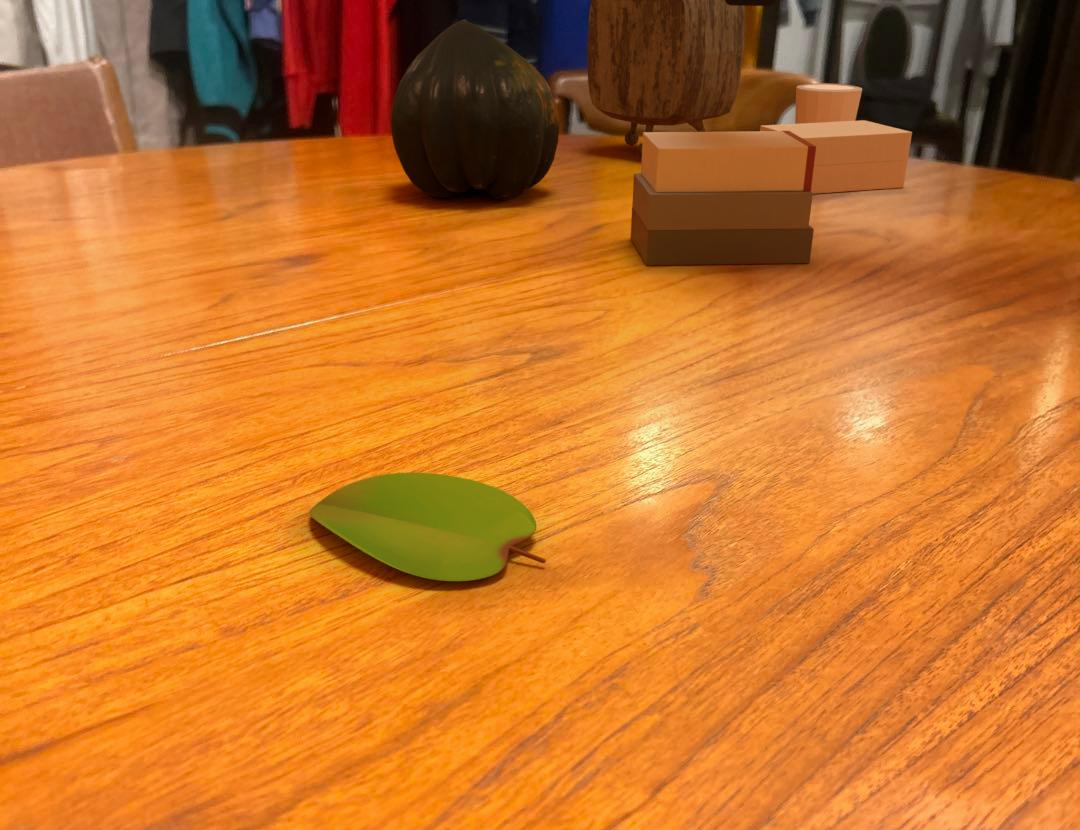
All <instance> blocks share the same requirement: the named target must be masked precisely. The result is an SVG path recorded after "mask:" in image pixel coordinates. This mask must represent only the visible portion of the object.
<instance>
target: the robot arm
mask: <svg viewBox="0 0 1080 830" xmlns="http://www.w3.org/2000/svg"><path fill="white" fill-rule="evenodd" d="M725 2H726V3H727V4H728V5H737V6H746V7H755V6H756V7H770V6H773V5H774V4H775V2H776V0H725Z"/></svg>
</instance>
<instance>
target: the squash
mask: <svg viewBox="0 0 1080 830" xmlns="http://www.w3.org/2000/svg"><path fill="white" fill-rule="evenodd" d="M390 128H391V137H392V142H393V147H394V150H395V153H396V155H397V158H398V160H399V162H400V165H401V167H402V169H403V172H404V173H405V175H406V176H407V178H408V179H409V181H410V182H411V183H412V184H413V186H414V187H416V188H417V189H418V190H419V191H421V192H423V193H424V194H427V195H428V196H431V197H435V198H450V197H454V196H456V195H457V194H460V193H465V192H467V191H468V190H470V189H471V187H472V188H473V189H475V190H486V192H487V194H489V196H492V197H493V198H495V199H498V200H501V201H508V200H511V199H514V198H517V197H519V196H520V195H522V194H523V193H524V192H525V191H527V190H529V189H531V188H533V187H535V186H537V184H539V183H540V182H541V181H542V180H543V179H544V178H545V177H546V175H548V173H549V171H550V169H551V167H552V165H553V163H554V160H555V156H556V152H557V148H558V145H559V136H560V135H559V134H560V115H559V111H558V106H557V103H556V100H555V97H554V95H553V91H552V90H551V88H550V86H549V84H548V82H547V80H546V78H545V77H544V76H543V75H542V74H541V72H540V71H539V70H538V69H536V67H535V66H533V65H532V64H531V62H529V61H528V60H527V59H525V57H523V56H521V54H519V53H518V52H517V51H515V50H514V49H513V48H511V47H510V46H509V45H507V44H506V43H504V42H503V41H501V40H500V39H499V38H497V37H495V36H494V35H493V34H491V33H490V32H488V31H486V30H485V29H483V28H482V27H481V26H478V25H476V24H474V23H473V22H469V21H468V20H466V19H462V20H459V22H455V23H454V24H451V25H449V26H448V27H447V28H446V29H444V30H443V31H442V32H441V33H440V34H438V35H437V36H436V37H435V38H434V39H433V40H432V41H431V42H430V43H429V44H428V45H427V46H426V47H425V48H423V49H422V51H420V52H419V54H417V55H416V57H415V58H414V59H413V60H412V62H411V63H410V65H408V68H407V69H406V71H405V72H404V74H403V76H402V77H401V79H400V81H399V83H398V86H397V90H396V93H395V96H394V99H393V104H392V109H391V116H390Z"/></svg>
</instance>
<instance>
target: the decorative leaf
mask: <svg viewBox="0 0 1080 830" xmlns="http://www.w3.org/2000/svg"><path fill="white" fill-rule="evenodd" d="M308 514H309V516H310V517H311V519H313V520H314V521H316V522H317V523H319V524H320V525H321V526H323V527H324V528H325V529H327V530H329V531H330V532H332V533H333V534H335V535H337V536H338V537H339V538H341V539H343V540H344V541H345V542H347V543H348V544H350V545H352V546H354V547H355V548H357V549H358V550H360V551H362V552H363V553H365V554H367V555H369V556H370V557H372V558H373V559H376V560H377V561H379V562H381V563H383V564H385V565H388V566H390V567H391V568H394V569H396V570H398V571H400V572H404V573H406V574H409V575H412V576H416V577H420V578H424V579H428V580H434V581H443V582H468V581H475V580H482V579H486V578H489V577H492V576H494V575H496V574H498V573H499V572H501V571H502V570H504V568H505V567H506V566H507V562H508V559H509V554H510V553H509V552H512V553H514V554H517V555H519V556H523V557H525V558H528V559H529V560H530V559H531V560H533V561H535V562H538V563H540V564H546V562H547V560H546V559H545V558H544V557H541V556H538V555H535V554H533V553H531V552H529V551H526V550H522V549H520V548H518V547H516V546H517V545H519V544H521V543H523V542H525V541H527V540H528V539H529V538H531V537H532V536H533V535H534V534H535V533H536V531H537V521H536V520H535V517H534V515H533V514H532V513H531V511H530V510H529V508H528V507H527V506H526V505H525V504H524V503H523V502H522V501H520V500H519V499H517V498H516V497H515V496H513V495H512V494H510V493H508V492H506V491H504V490H503V489H500V488H497V487H495V486H493V485H490V484H487V483H484V482H481V481H478V480H477V481H476V480H474V479H470V478H469V479H468V478H464V477H460V476H453V475H450V474H449V475H448V474H441V473H440V474H439V473H431V472H430V473H429V472H395V473H385V474H380V475H375V476H370V477H366V478H363V479H360V480H356V481H353V482H351V483H348V484H346V485H343V486H342V487H340V488H337V489H336V490H334V491H333V492H331V493H329V494H328V495H326V496H325V497H323V498H322V499H321V500H320V501H318V502H317V503H316V504H314V505H313V506H312V507H311V508H310V510H309V512H308Z"/></svg>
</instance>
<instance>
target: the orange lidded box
mask: <svg viewBox="0 0 1080 830" xmlns="http://www.w3.org/2000/svg"><path fill="white" fill-rule="evenodd" d="M759 131H790V132H792V133H794V134H795V135H797V136H799V137H801V138H802V139H804V140H806V141H808V142H809V143H811V144H813V145H814V146H816V153H815V161H814V170H813V178H812V187H811V192H812V193H813V195H816V194H817V195H818V194H829V193H830V194H832V193H846V192H847V193H848V192H858V191H859V192H860V191H874V190H886V189H899V188H904V186H905V185H904V184H905V180H906V179H905V178H906V172H907V166H908V161H909V155H910V150H911V149H910V148H911V142H912V135H913V131H909V130H905V129H901V128H898V127H893V126H890V125H885V124H881V123H877V122H873V121H869V120H865V119H864V120H863V119H862V120H855V121H841V122H821V123H801V124H795V123H785V124H783V123H782V124H766V125H763V124H762V125H760V126H759Z"/></svg>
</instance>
